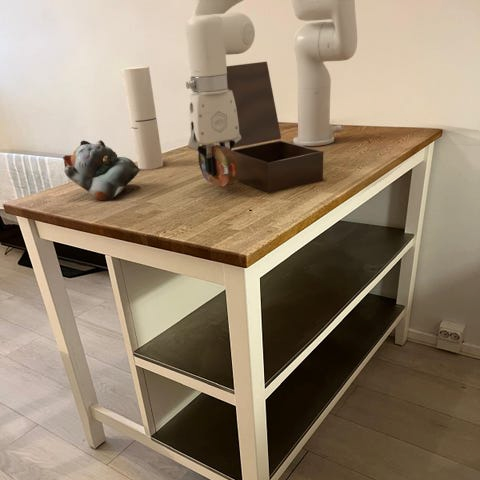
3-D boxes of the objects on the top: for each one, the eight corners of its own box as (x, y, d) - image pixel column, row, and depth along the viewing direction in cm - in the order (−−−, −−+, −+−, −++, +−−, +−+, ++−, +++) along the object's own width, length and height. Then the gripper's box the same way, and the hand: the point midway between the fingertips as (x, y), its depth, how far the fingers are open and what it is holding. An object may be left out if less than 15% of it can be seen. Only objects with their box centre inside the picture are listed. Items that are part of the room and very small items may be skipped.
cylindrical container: (158, 169, 134) (142, 68, 121) (134, 169, 136) (116, 69, 123) (166, 162, 140) (152, 65, 127) (143, 163, 142) (127, 67, 129)
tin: (200, 178, 117) (194, 142, 113) (212, 174, 119) (205, 139, 114) (229, 191, 106) (223, 151, 101) (242, 187, 107) (236, 148, 102)
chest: (323, 180, 114) (323, 151, 111) (268, 193, 109) (267, 163, 105) (281, 166, 128) (280, 140, 124) (231, 177, 122) (229, 150, 119)
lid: (267, 61, 119) (265, 62, 120) (212, 67, 113) (210, 68, 114) (281, 138, 124) (280, 138, 125) (229, 148, 118) (228, 149, 119)
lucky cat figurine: (108, 204, 109) (65, 150, 104) (86, 215, 119) (46, 166, 113) (149, 169, 117) (112, 117, 111) (126, 182, 126) (90, 134, 120)
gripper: (181, 90, 96) (192, 183, 105) (252, 81, 102) (256, 169, 111) (167, 88, 101) (179, 176, 111) (235, 79, 108) (240, 164, 117)
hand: (218, 172), depth 111 cm, fingers closed on tin, 2 cm apart
